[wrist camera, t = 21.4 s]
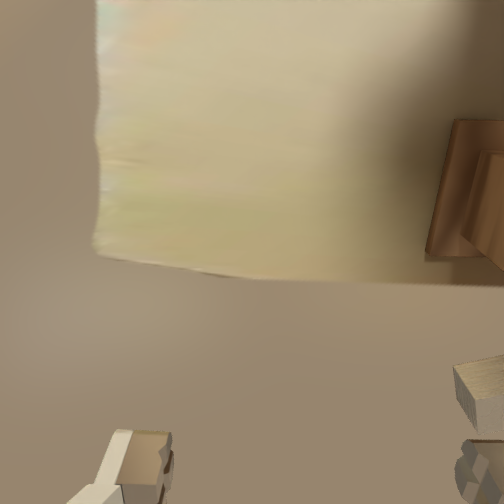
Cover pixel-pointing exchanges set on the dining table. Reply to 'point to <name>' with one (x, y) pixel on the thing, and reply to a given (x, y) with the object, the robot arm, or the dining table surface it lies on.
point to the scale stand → (471, 194)
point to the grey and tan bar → (482, 393)
